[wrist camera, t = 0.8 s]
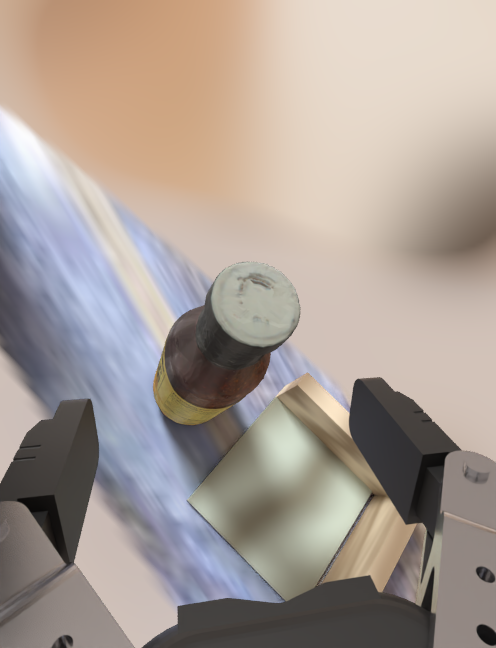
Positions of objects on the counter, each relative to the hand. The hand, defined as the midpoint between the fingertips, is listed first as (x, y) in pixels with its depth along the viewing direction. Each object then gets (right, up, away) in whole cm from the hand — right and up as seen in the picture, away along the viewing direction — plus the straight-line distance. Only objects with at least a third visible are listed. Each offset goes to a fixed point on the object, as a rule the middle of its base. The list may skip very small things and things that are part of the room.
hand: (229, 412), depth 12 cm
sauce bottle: (-5, -3, +22) cm, 23 cm away
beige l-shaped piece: (+5, -12, +22) cm, 25 cm away
